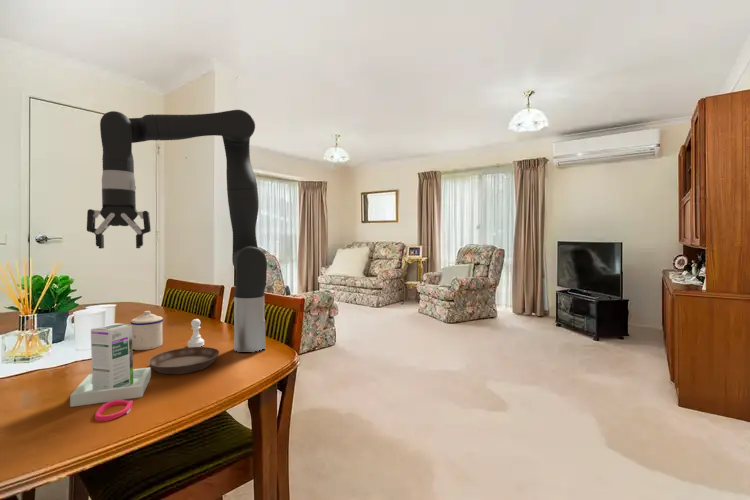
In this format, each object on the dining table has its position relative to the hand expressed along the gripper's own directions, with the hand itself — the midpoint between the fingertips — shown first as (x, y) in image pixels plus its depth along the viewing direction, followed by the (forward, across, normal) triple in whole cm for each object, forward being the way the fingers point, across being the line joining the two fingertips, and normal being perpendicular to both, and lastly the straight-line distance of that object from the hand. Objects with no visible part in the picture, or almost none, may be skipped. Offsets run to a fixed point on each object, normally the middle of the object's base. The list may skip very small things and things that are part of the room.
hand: (120, 248), depth 102 cm
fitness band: (+33, +4, -30) cm, 45 cm away
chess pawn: (+33, +18, +14) cm, 40 cm away
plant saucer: (+34, +16, -5) cm, 37 cm away
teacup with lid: (+33, +2, +19) cm, 38 cm away
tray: (+33, +2, -18) cm, 38 cm away
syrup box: (+32, +2, -18) cm, 37 cm away
